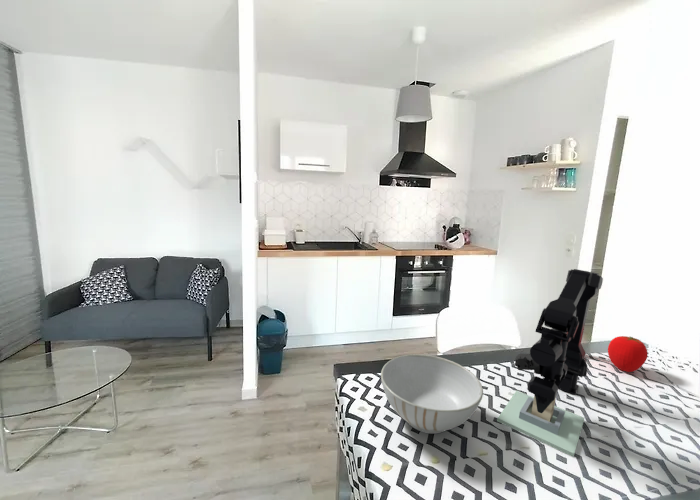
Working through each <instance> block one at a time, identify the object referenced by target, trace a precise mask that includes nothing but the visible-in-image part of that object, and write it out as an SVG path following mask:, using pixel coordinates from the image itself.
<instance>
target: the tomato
mask: <svg viewBox="0 0 700 500" xmlns="http://www.w3.org/2000/svg"><path fill="white" fill-rule="evenodd" d="M607 354H608V359H609V360H610V362H611V363H612V365H614V366H615V368H617V369H618V370H621V371H623V372H626V373H633V372H635V371H637V370H639V369H641V368H642V366H643V365H644V364H646V363H645V362H647V359H648V349H647V346H646V345H645V343H644V342H642V340H641V339H638V338H635V337H633V336H624V335H622V336H621V335H620V336H615V337H614V338H612V339H611V341H610V342H609V343H608V346H607Z"/></svg>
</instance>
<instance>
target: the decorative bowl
mask: <svg viewBox="0 0 700 500" xmlns="http://www.w3.org/2000/svg"><path fill="white" fill-rule="evenodd" d="M380 378H381V379H380V380H381V385H382V388H383V391H384V394H385V396H386V399H387V400H388V403H389V404H390V406H391V407H392V409H393V410H394V411H395V413H397V415H399V416H400V418H401V419H403V420H404V421H405V422H407V423H408V425H409V426H411V427H412V428H413V429H415V430H417V431H419V432H422V433H425V434H440V433H443V432H445V431H449V430H452V429H455V428H457V427H459V426H461V425H462V424H464V423H465V422H466V421H467V420H469V419H470V418H471V417H472V416H473V414H474V413H475V412H476V411H477V409H478V408H479V405H480V404H481V402H482V399H483V396H484V388H483V386H482V383H481V381H480V380H479V378H478V377H477V376H476V375H475V374H474V373H473V372H472V371H470V370H469V369H468V368H466V367H465V366H463V365H461V364H459V363H458V362H455V361H453V360H449V359H447V358H444V357H441V356H436V355H431V354H423V353H421V354H416V353H413V354H405V355H404V354H403V355H400V356H395V357H394V358H392V359H390V360H388V361H387V362H386V363H385V364H384V365H383V367H382V369H381V371H380Z"/></svg>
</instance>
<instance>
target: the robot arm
mask: <svg viewBox="0 0 700 500" xmlns="http://www.w3.org/2000/svg"><path fill="white" fill-rule="evenodd" d="M603 281H604V278H603V277H602V276H600V274H599V273H597V272H593V271H589V270H588V271H587V270H582V269H578V268H577V269H576V268H574V269H570V270H569V269H568V271H567V275H566V280H565V282H566V283H565V285H564V286H563V288H562V291H561V292H560V294H559V295H558V298H557V299H554V300H551V301H549V303H548V304H547V306H546V307H544V308H543V309H542V311H541V314H540V316H539V317H540V318H539V320H538V322H537V325H536V328H535V331H534V332H535V333H538V334H541V336H540V338H539V340H537V341H536V342H535V343H534V344H533V345H532V346H531V347H530V350H529V353H518V354H517V355H516V357H515V360H514V361H515V362H514V366H515V367H516V368H517V370H518V371H524V370H525V371H533V373H534V374H536V375H540V376H536V375H535V376H533V377H531V378H530V379H529V381H528V383H527V388H526V389H527V390H528V391H529V393H531V394H533V395H535V398H536V404H537V411H538V412H539V413H543V412H544V411H545V409H546V408H547V407H548V406H549V405H550V404H551V403H552V401H554V399H555V397H556V398H557V395H558V390H562V391H563V392H567V393H570V394H572V395H576V394H577V393H578V392H577V391H578V389H579V384H578V379H579V377H580V378H583V377H587V375H588V363H587V359H586V358H585V356H586V350H585V348H584V347H583V345H582V341H583V335H584V330H585V326H586V320H587V315H588V310H589V305H590V300H591V299H592V298H593V297H595V295H596V294H598V292H599V290H601V288H602V286H603ZM543 325H544V326H545V327H544V326H543ZM541 377H542V378H541Z"/></svg>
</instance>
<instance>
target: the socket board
mask: <svg viewBox="0 0 700 500" xmlns="http://www.w3.org/2000/svg"><path fill="white" fill-rule="evenodd" d="M533 401H534V396H532V395H529V394H526V393H525V392H521V391H519V390H515V392H514V394H513V395H512V397H511V398H510V399H509V401H508V402H507V404H505V407H504V408H503V409H502V411H501V413H500V414H499V415H498V417H497V422H499V423H500V424H503V425H505V426H506V427H509V428H510V429H513V430H514V431H517V432H519V433H522V434H523V435H525V436H528V437H529V438H532V439H534V440H536V441H538V442H541V443H543V444H545V445H547V446H549V447H551V448H553V449H555V450H557V451H560V452H562V453H564V454H565V455H568V456H569V457H572V458H574V457H575V453H576V450H577V446H578V444H579V443H578V442H579V438H580V435H581V432H582V429H583V425H584V421H585V417H584V416H581V415H579V414H576V413H573V412H571V411H570V410H566V409H563V408H561V407H559V406H557V405H555V406H554V411H553V417H552V419H551V422H549V421H546V420H544V419H542V418H539V417H537V416H535V415H532V414H531V413H532V407H533Z"/></svg>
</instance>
